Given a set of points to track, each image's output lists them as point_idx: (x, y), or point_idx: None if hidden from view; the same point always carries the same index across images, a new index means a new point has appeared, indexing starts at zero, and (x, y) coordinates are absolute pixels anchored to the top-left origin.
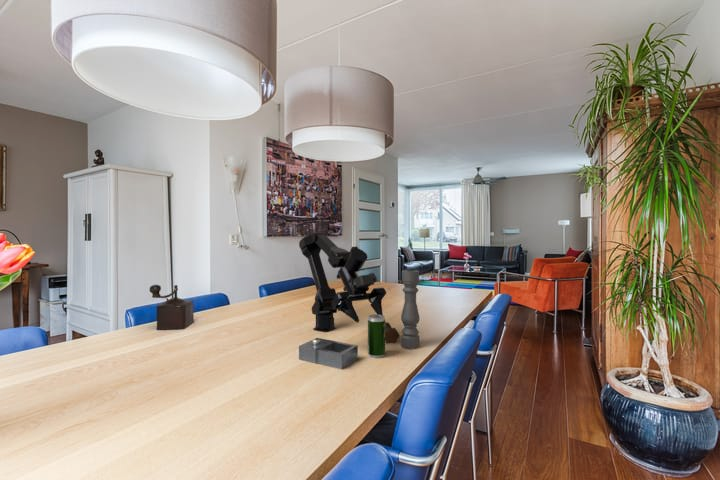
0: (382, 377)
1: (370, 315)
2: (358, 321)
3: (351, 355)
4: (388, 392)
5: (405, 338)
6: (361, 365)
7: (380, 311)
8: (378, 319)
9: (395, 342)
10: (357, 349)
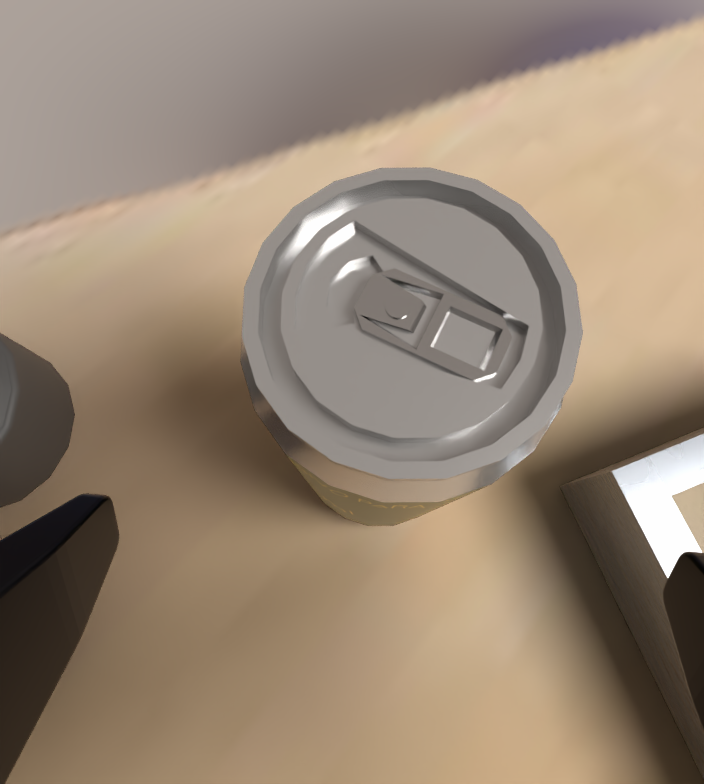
0: (599, 152)
1: (465, 453)
2: (687, 560)
3: (688, 436)
4: (679, 26)
5: (20, 382)
6: (608, 364)
7: (30, 562)
8: (475, 201)
9: None
10: (599, 474)
